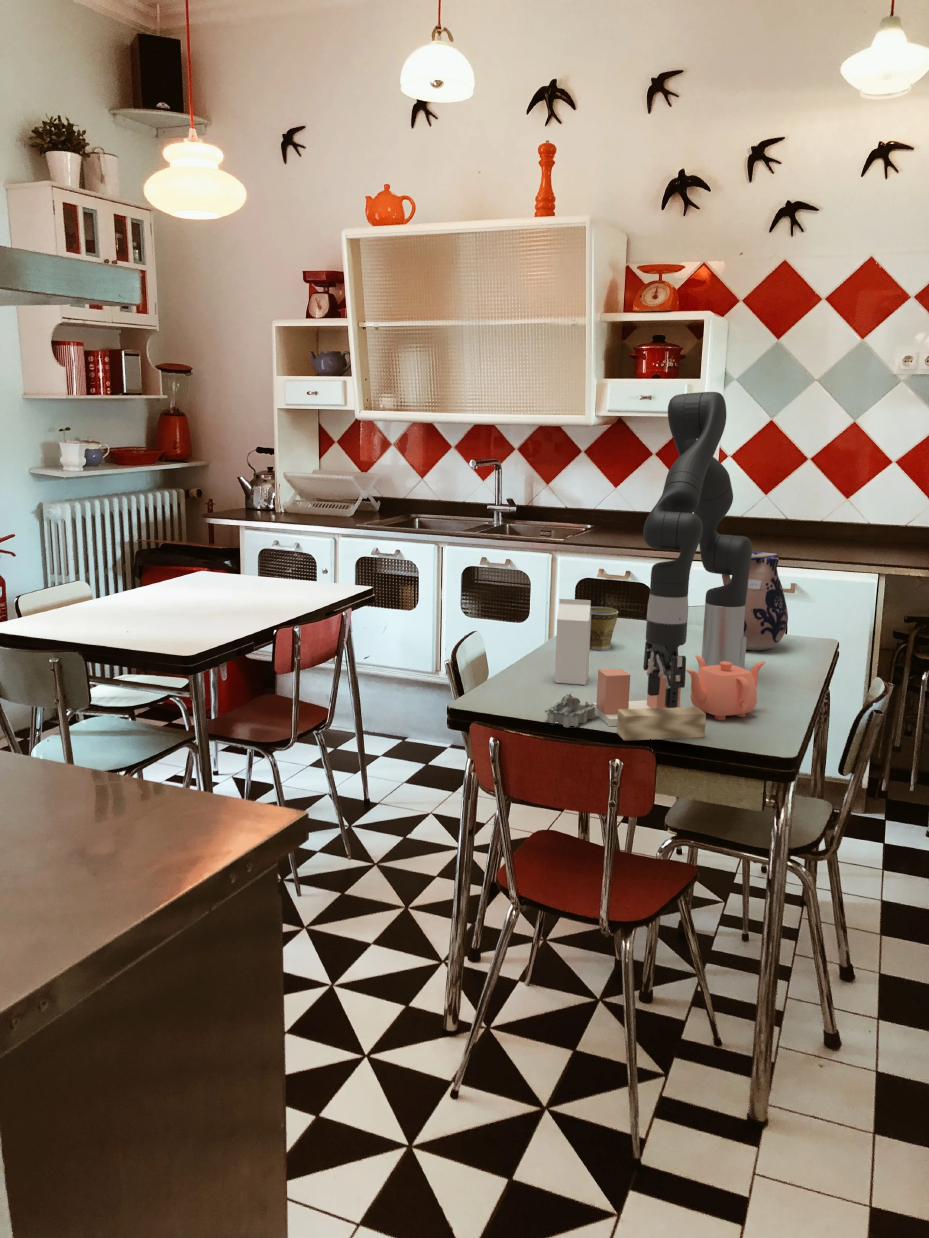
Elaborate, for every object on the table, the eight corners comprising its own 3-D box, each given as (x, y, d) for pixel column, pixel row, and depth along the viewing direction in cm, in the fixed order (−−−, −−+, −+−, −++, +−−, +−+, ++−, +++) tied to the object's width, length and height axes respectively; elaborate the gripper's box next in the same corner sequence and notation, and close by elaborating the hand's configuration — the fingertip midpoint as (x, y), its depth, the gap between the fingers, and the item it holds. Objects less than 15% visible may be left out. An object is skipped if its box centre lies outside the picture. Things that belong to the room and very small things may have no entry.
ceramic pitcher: (759, 658, 250) (767, 561, 245) (692, 642, 266) (699, 551, 261) (798, 649, 261) (807, 555, 255) (732, 634, 277) (739, 546, 271)
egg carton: (570, 711, 205) (570, 692, 204) (601, 718, 200) (601, 699, 199) (540, 722, 197) (541, 703, 196) (572, 730, 192) (572, 710, 191)
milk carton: (585, 685, 223) (589, 603, 219) (554, 683, 224) (557, 601, 220) (588, 677, 230) (591, 597, 226) (558, 675, 231) (561, 595, 227)
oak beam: (695, 731, 193) (696, 706, 192) (704, 738, 189) (705, 713, 188) (616, 734, 190) (618, 709, 189) (624, 741, 186) (625, 716, 185)
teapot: (682, 719, 200) (685, 666, 198) (692, 700, 213) (695, 651, 211) (756, 728, 195) (760, 674, 192) (761, 708, 208) (765, 658, 206)
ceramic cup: (624, 649, 257) (626, 611, 255) (595, 653, 252) (597, 615, 250) (591, 639, 268) (593, 603, 266) (563, 643, 262) (564, 606, 260)
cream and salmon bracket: (663, 706, 208) (665, 662, 206) (684, 722, 197) (688, 676, 195) (591, 709, 205) (593, 665, 203) (609, 726, 194) (611, 680, 192)
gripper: (702, 625, 179) (695, 711, 182) (670, 610, 192) (665, 690, 196) (663, 626, 177) (657, 712, 180) (634, 611, 191) (629, 691, 194)
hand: (661, 701), depth 188 cm, fingers open, 8 cm apart
